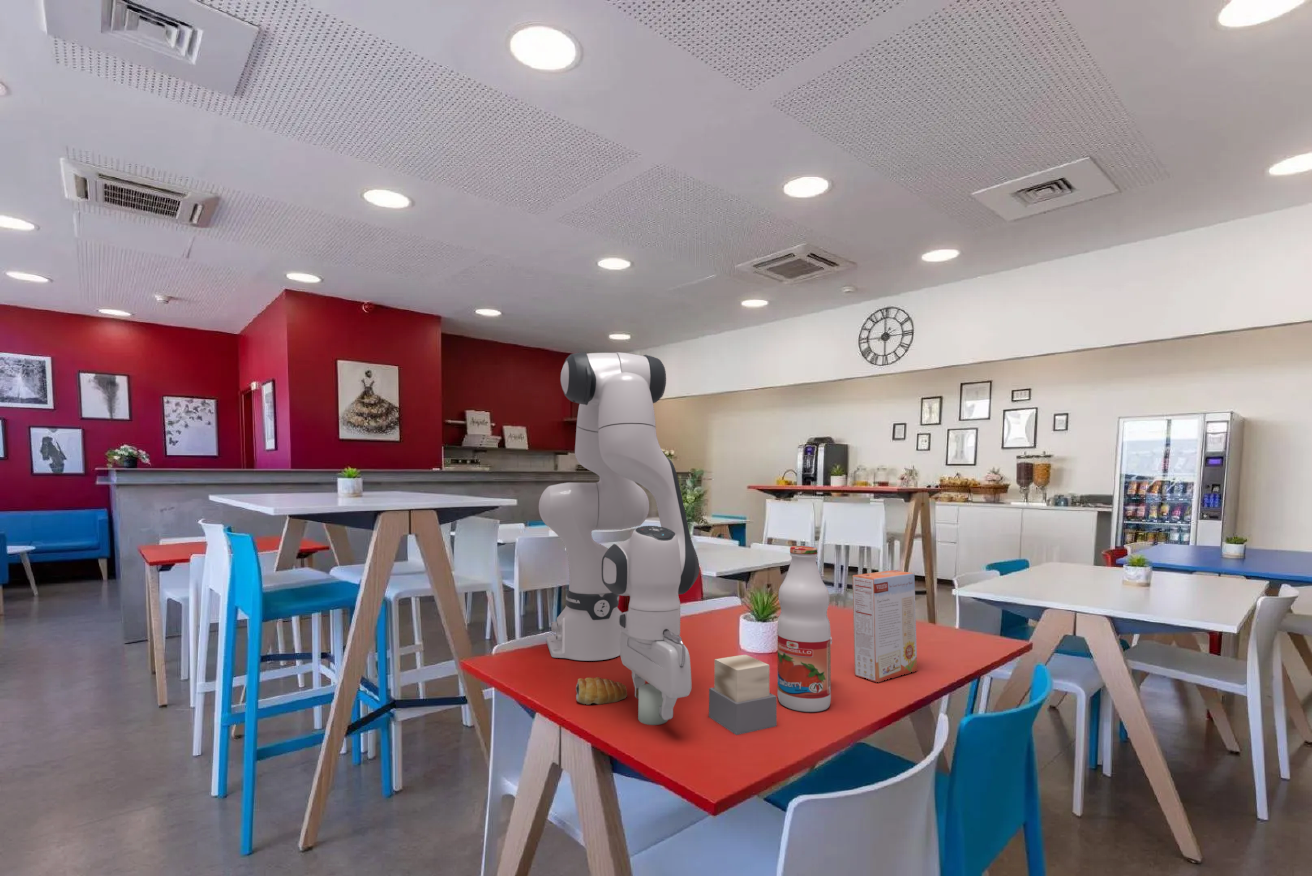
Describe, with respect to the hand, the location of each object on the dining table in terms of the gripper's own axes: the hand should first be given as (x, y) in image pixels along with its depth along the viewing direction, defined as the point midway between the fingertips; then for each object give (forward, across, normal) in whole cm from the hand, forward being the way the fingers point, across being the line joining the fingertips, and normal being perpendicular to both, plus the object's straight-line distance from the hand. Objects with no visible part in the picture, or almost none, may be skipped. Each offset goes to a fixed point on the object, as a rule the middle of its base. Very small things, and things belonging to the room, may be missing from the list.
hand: (653, 707), depth 100 cm
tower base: (+2, -7, -13) cm, 15 cm away
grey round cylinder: (+2, 0, 0) cm, 2 cm away
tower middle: (-3, -7, -13) cm, 15 cm away
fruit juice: (+2, -5, -28) cm, 29 cm away
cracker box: (+2, +1, -55) cm, 55 cm away
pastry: (+2, +13, +5) cm, 14 cm away
